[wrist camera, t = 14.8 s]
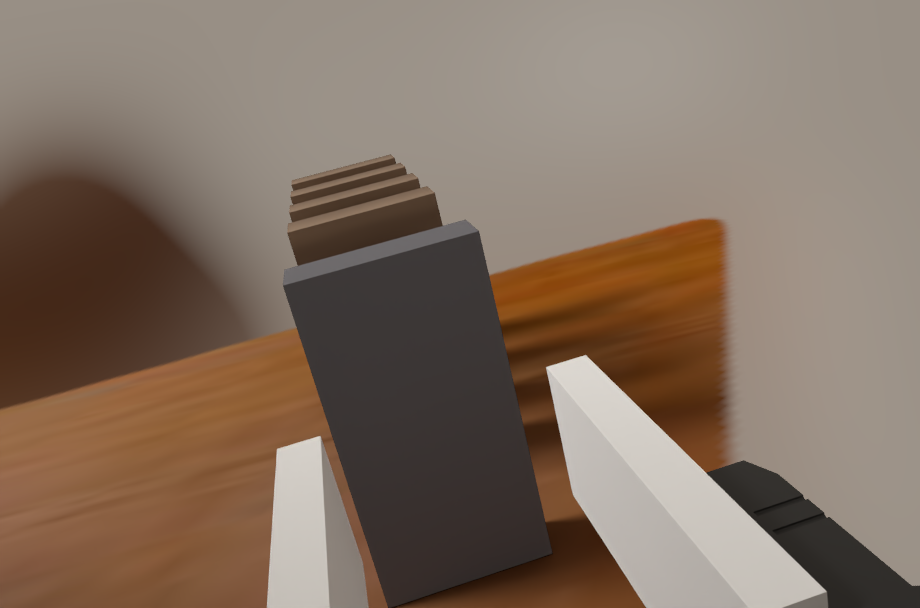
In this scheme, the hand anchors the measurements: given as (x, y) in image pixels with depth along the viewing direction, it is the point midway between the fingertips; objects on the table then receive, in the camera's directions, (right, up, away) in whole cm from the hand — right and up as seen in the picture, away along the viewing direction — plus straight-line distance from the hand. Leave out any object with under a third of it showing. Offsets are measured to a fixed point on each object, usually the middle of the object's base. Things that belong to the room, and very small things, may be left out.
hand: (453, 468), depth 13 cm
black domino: (0, -5, +9) cm, 10 cm away
